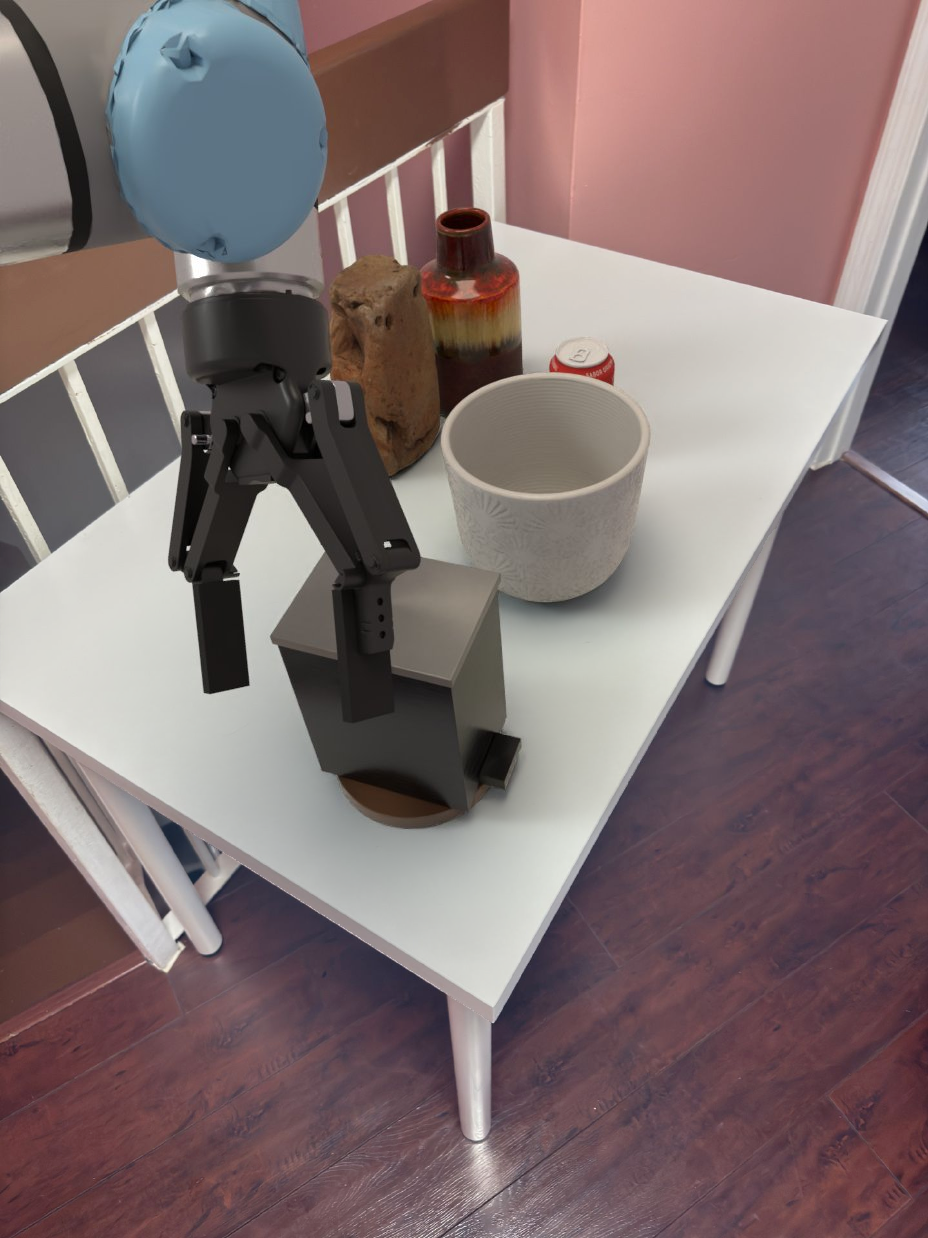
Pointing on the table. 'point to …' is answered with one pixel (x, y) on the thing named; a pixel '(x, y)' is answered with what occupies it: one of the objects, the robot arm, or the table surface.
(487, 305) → the vase
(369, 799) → the disc
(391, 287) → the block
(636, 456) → the planter
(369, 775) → the bin
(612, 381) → the beverage can
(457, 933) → the table surface
